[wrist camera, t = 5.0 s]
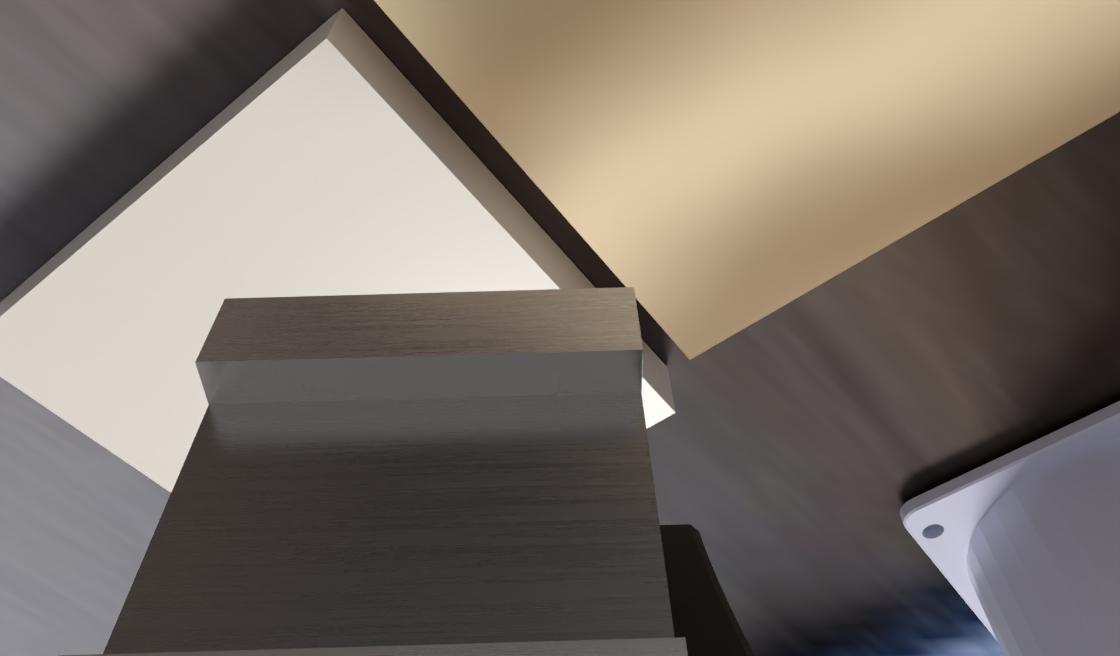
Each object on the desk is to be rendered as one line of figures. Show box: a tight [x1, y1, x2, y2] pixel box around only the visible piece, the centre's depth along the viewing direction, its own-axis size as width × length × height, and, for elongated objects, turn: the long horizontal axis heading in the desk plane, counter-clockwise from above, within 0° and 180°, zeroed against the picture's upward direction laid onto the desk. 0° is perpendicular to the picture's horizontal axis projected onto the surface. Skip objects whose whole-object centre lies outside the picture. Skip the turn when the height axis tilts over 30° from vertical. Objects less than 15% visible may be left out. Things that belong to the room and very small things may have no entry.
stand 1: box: [0, 8, 675, 492], centre depth 20 cm, size 10×10×2 cm
